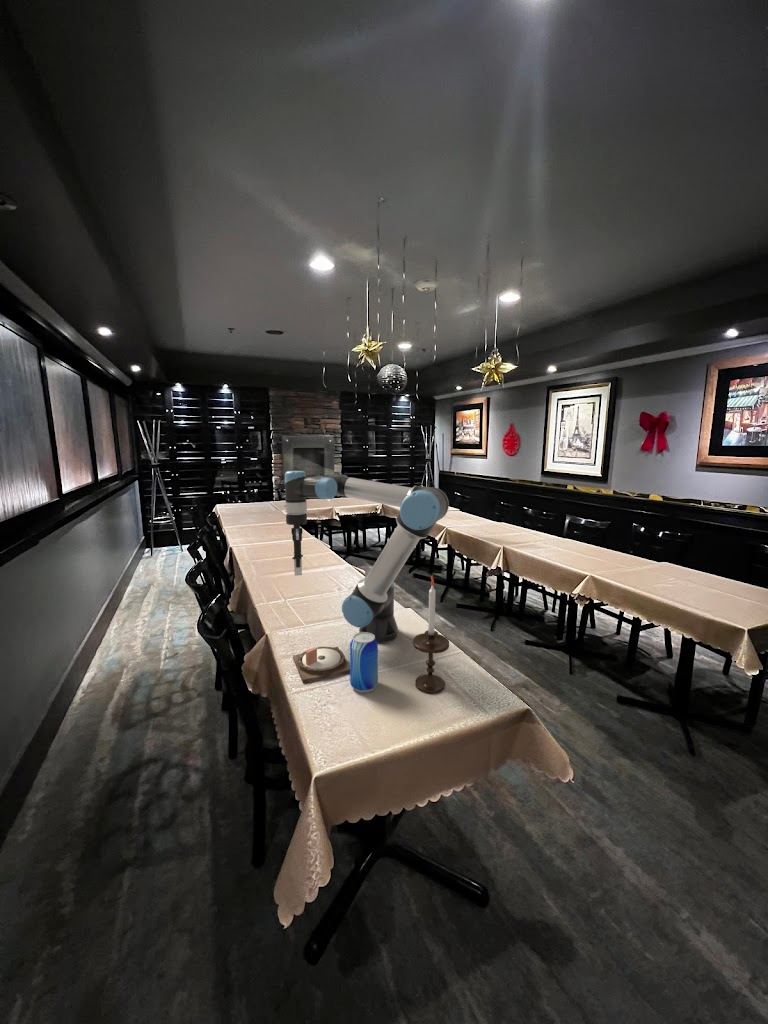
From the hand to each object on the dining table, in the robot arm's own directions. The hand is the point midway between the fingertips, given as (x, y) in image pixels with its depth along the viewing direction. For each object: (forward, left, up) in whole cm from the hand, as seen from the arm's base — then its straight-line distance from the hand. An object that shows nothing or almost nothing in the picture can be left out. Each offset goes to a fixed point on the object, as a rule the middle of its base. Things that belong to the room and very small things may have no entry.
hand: (298, 574), depth 152 cm
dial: (-14, +20, -23) cm, 33 cm away
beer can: (-30, +30, -25) cm, 49 cm away
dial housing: (-14, +20, -24) cm, 35 cm away
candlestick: (-50, +27, -25) cm, 62 cm away
